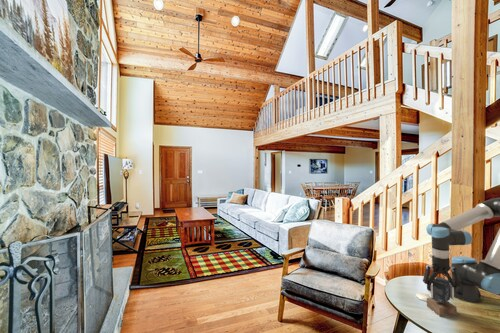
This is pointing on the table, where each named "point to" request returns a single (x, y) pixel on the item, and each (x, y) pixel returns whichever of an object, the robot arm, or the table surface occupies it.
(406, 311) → the table surface
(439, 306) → the block
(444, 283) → the box
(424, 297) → the coaster
